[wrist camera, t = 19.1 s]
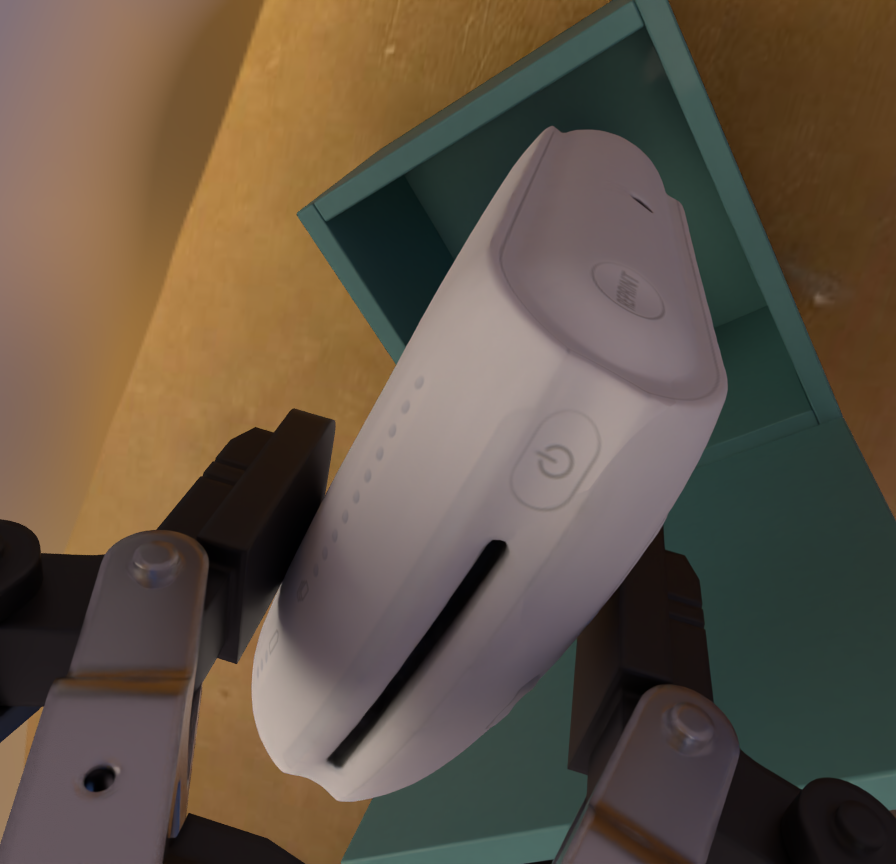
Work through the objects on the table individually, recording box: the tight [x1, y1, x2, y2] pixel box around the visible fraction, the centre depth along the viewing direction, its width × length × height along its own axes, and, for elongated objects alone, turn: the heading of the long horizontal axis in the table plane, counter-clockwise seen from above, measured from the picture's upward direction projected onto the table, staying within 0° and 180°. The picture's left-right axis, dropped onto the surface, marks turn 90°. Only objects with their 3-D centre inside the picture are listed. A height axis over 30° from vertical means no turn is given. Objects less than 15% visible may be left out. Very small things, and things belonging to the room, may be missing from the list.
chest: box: [297, 0, 843, 468], centre depth 32 cm, size 16×14×11 cm
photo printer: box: [252, 126, 728, 802], centre depth 15 cm, size 10×4×12 cm, turn 153°
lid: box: [341, 417, 896, 864], centre depth 23 cm, size 16×14×5 cm
